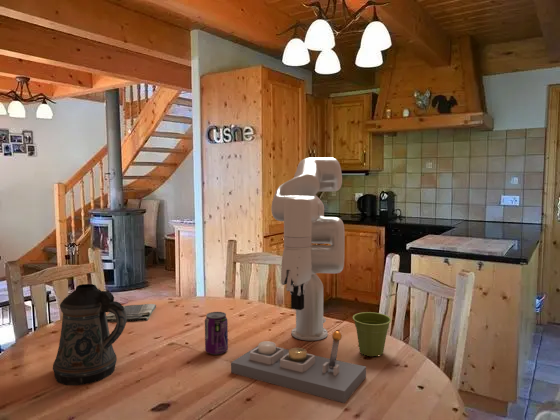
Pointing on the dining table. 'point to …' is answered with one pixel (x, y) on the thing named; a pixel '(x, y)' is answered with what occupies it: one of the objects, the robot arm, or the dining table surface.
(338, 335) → the lever
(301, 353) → the brass button
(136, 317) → the dish towel
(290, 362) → the switch panel
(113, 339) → the beer stein
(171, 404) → the dining table surface
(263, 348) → the ivory button
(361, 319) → the plant pot
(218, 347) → the beverage can
